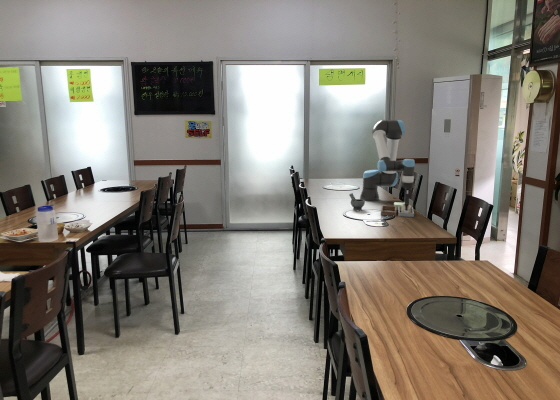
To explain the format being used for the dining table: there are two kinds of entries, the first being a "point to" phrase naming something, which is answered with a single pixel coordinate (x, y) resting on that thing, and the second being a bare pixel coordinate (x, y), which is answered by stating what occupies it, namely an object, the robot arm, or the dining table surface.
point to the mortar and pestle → (356, 202)
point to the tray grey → (405, 213)
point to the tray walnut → (388, 209)
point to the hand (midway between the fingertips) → (405, 213)
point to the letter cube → (408, 208)
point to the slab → (398, 204)
